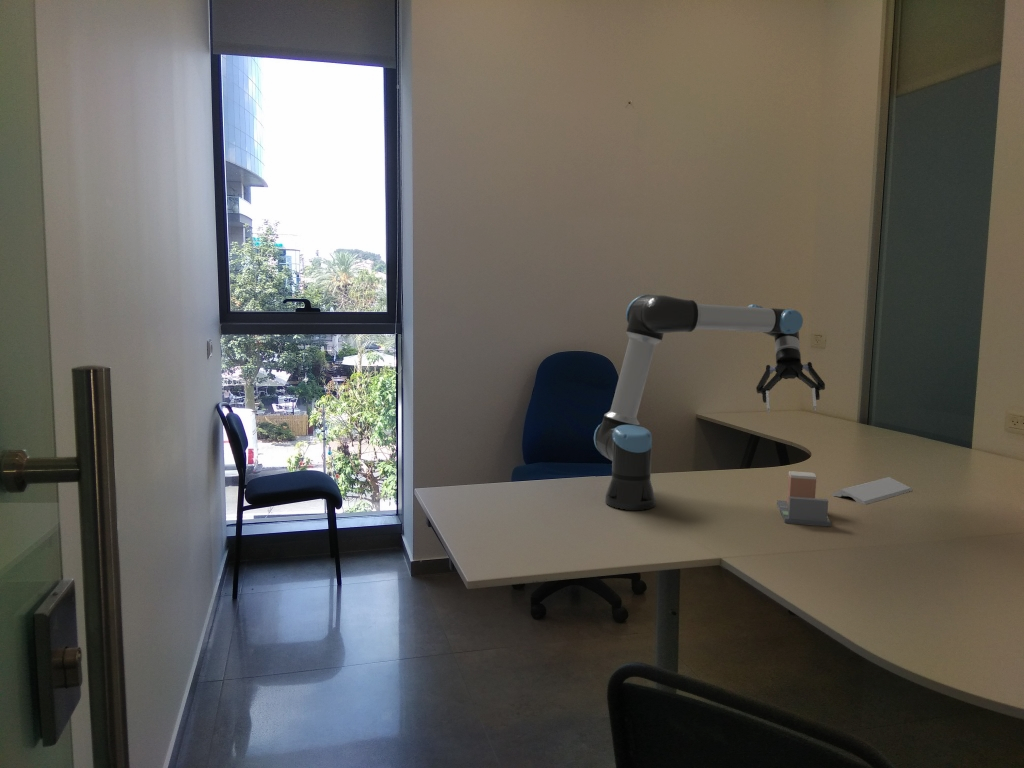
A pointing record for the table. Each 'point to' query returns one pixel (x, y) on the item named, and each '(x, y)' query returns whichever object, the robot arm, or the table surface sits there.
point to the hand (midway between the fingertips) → (791, 409)
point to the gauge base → (805, 511)
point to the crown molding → (874, 490)
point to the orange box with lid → (801, 485)
